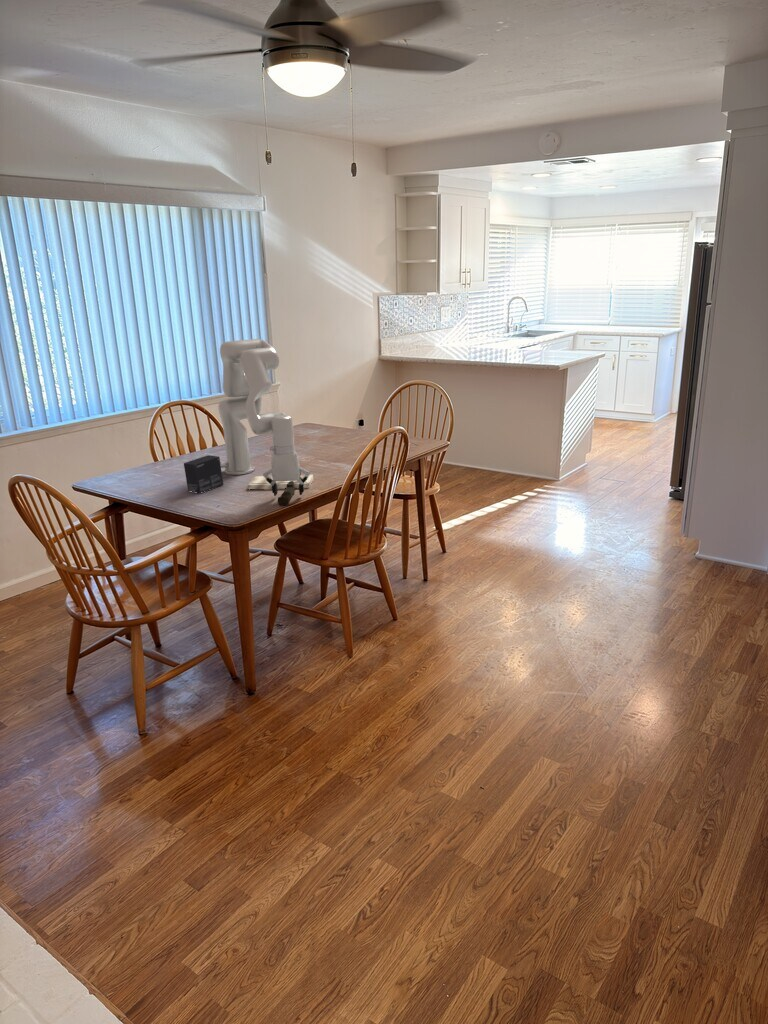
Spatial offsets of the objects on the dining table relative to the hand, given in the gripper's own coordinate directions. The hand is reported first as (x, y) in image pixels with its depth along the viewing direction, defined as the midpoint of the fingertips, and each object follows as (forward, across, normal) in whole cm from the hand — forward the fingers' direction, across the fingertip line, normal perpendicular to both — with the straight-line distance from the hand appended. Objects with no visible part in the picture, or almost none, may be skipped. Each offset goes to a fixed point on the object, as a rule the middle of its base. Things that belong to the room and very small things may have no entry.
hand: (288, 494), depth 263 cm
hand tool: (+2, -1, 0) cm, 2 cm away
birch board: (+1, -6, +18) cm, 19 cm away
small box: (+2, -36, +16) cm, 39 cm away
